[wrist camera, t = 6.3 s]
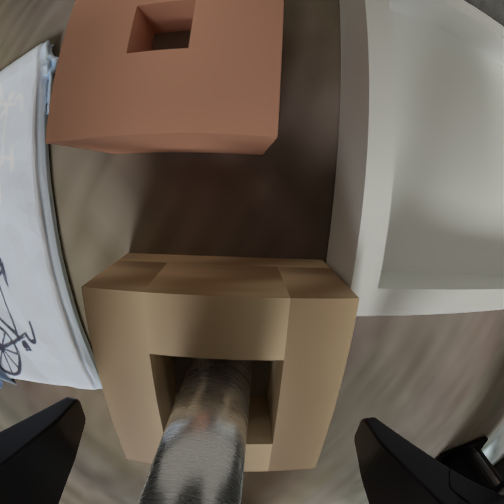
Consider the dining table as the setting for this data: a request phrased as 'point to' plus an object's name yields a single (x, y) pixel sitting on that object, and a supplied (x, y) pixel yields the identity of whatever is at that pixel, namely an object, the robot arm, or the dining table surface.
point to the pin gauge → (204, 437)
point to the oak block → (223, 345)
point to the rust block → (169, 76)
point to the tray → (420, 158)
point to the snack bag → (34, 240)
